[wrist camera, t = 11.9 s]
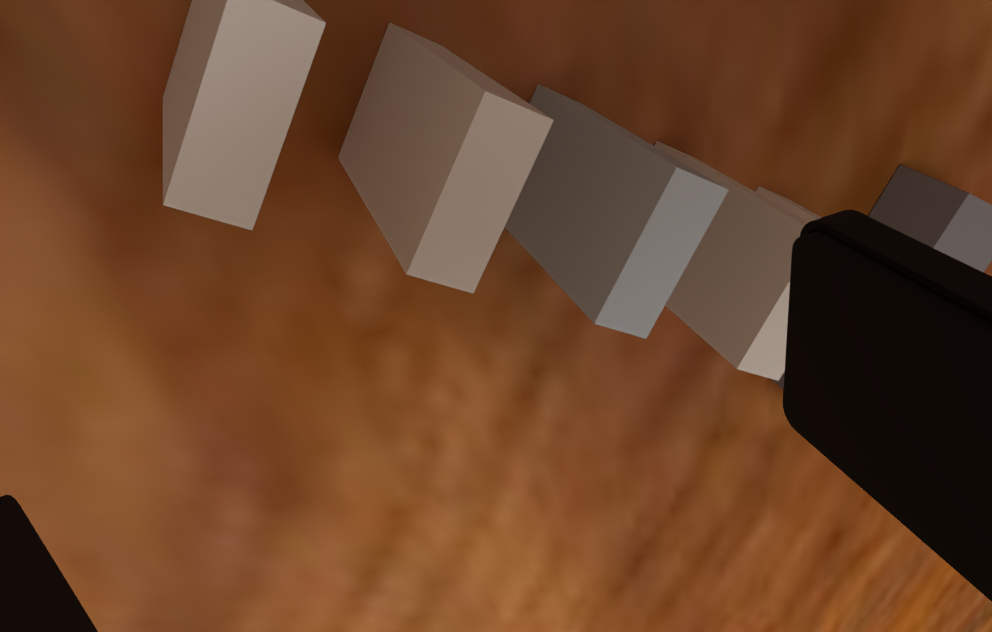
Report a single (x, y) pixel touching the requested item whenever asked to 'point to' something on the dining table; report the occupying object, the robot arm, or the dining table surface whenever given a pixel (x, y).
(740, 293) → the tile
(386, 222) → the tile
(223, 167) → the end tile
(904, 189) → the end block
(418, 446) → the dining table surface
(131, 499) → the dining table surface
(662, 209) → the tile
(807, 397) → the robot arm
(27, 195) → the dining table surface
